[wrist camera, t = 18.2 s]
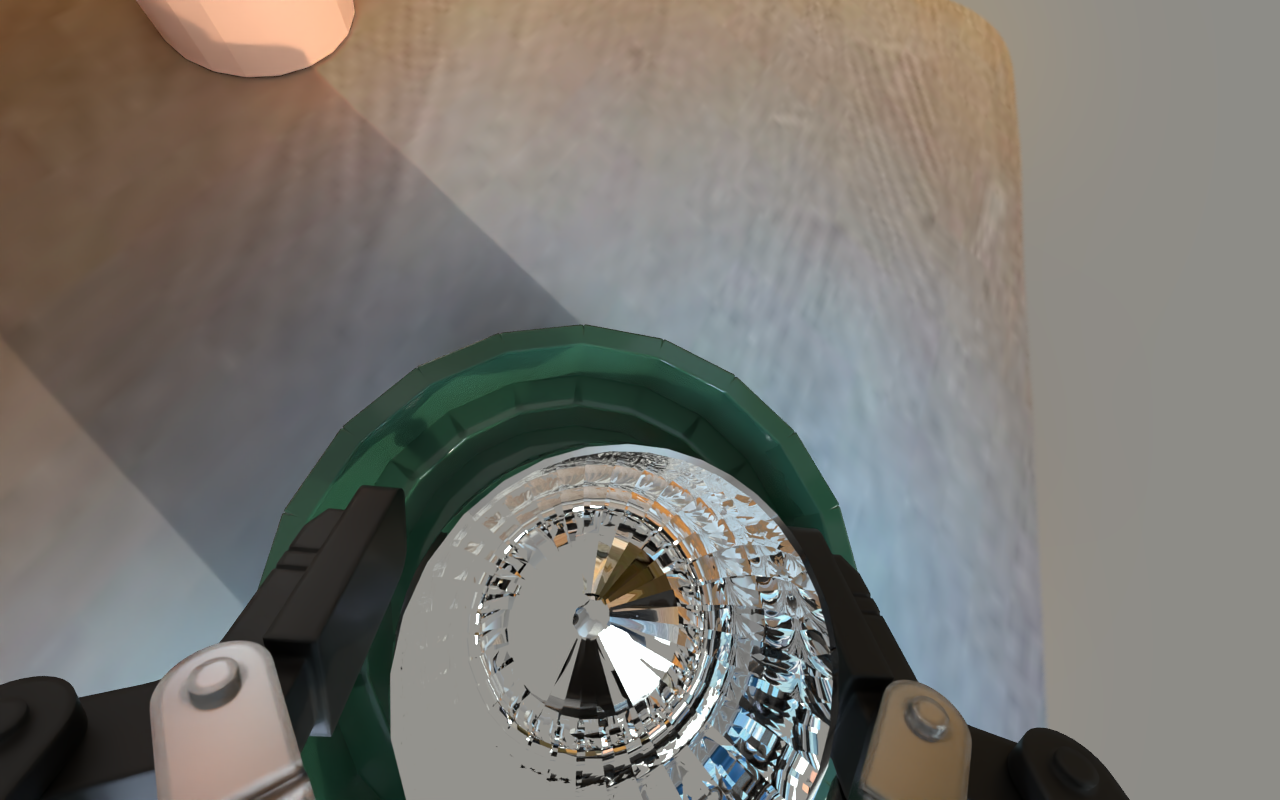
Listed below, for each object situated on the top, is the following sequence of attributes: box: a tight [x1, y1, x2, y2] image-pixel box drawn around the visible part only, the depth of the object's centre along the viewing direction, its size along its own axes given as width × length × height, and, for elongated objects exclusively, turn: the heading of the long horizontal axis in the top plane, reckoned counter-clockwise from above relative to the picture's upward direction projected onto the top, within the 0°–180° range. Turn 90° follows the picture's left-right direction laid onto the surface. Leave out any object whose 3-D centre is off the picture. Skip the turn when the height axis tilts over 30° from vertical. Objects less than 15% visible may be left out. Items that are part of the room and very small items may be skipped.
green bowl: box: [258, 325, 857, 800], centre depth 15 cm, size 14×14×6 cm
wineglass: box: [388, 441, 839, 800], centre depth 11 cm, size 6×6×12 cm
